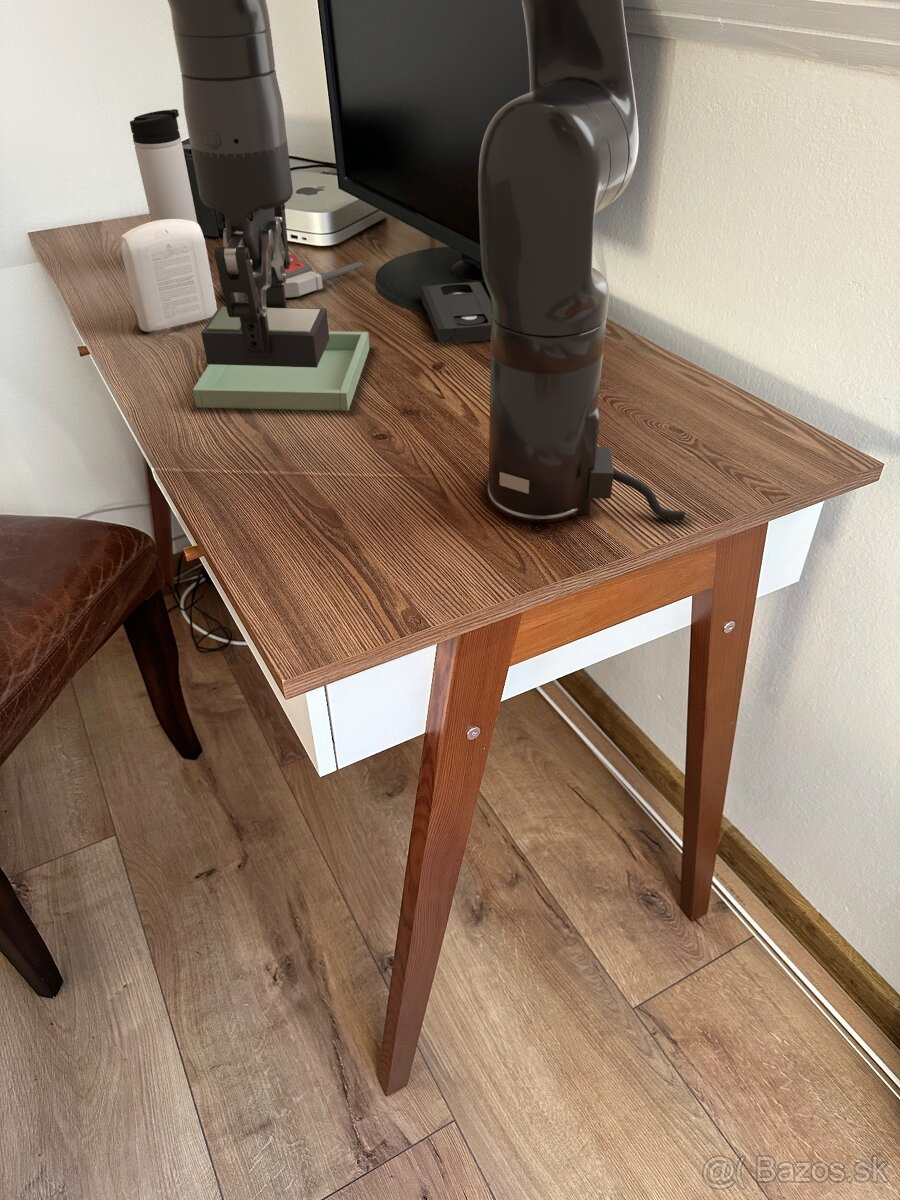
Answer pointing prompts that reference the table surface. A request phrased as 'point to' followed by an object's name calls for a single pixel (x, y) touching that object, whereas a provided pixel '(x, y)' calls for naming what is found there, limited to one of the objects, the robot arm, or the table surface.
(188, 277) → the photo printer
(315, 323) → the black rectangular box
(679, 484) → the table surface
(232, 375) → the tray
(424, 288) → the vhs tape
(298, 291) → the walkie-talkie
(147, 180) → the travel mug
